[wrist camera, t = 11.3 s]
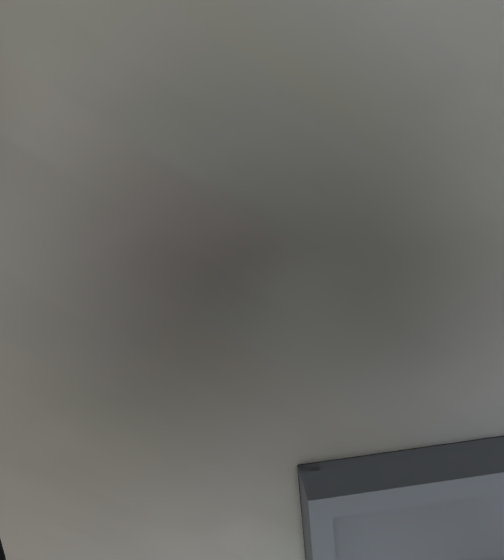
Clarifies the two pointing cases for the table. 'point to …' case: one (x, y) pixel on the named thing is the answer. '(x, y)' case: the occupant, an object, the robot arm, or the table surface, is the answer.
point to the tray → (407, 504)
